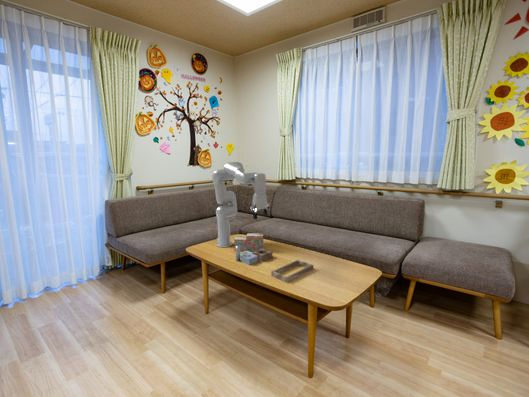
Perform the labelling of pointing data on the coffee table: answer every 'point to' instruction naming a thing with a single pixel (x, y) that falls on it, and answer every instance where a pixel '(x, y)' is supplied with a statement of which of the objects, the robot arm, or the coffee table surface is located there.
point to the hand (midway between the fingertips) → (260, 217)
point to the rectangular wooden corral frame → (288, 266)
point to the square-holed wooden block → (263, 254)
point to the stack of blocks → (249, 242)
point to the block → (249, 258)
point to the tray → (244, 253)
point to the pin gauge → (238, 253)
